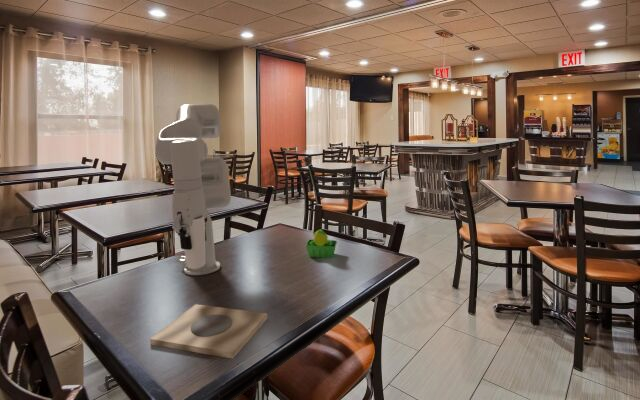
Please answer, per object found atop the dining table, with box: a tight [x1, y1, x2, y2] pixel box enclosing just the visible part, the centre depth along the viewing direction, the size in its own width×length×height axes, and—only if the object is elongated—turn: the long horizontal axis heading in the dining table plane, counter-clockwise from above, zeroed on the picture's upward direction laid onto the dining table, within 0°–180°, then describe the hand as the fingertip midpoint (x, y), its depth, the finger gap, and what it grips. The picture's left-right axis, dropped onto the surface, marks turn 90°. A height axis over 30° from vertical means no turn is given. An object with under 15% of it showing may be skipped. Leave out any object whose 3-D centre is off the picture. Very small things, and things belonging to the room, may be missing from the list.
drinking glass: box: [182, 216, 206, 269], centre depth 110 cm, size 7×7×15 cm
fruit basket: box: [305, 229, 338, 259], centre depth 146 cm, size 11×9×11 cm
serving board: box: [149, 303, 268, 359], centre depth 95 cm, size 22×18×2 cm
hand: (194, 244), depth 110 cm, fingers closed on drinking glass, 6 cm apart
